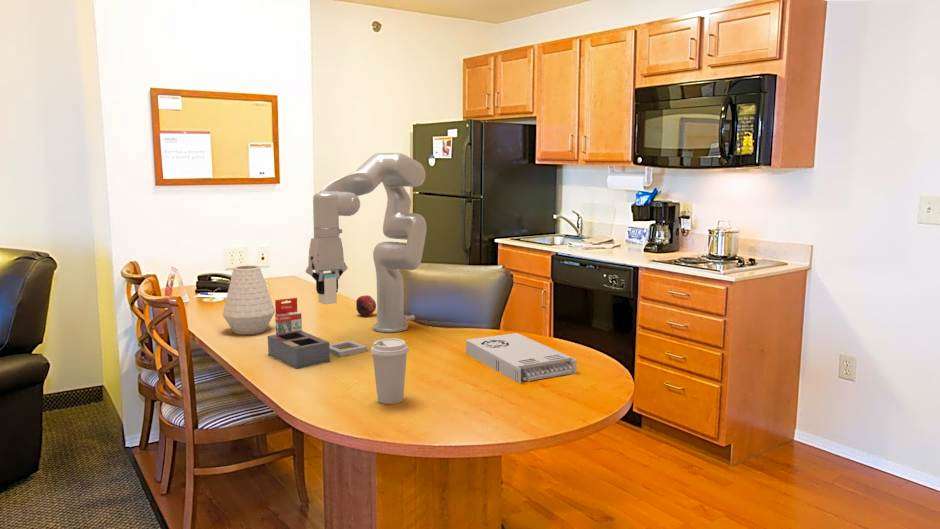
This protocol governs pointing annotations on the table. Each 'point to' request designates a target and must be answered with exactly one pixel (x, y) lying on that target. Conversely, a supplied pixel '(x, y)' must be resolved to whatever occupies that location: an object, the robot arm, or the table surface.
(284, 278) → the table surface
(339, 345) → the white square frame
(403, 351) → the coffee cup
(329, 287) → the plug
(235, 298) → the vase
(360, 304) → the fruit
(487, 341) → the power supply unit
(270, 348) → the port block
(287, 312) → the ink box
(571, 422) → the table surface
